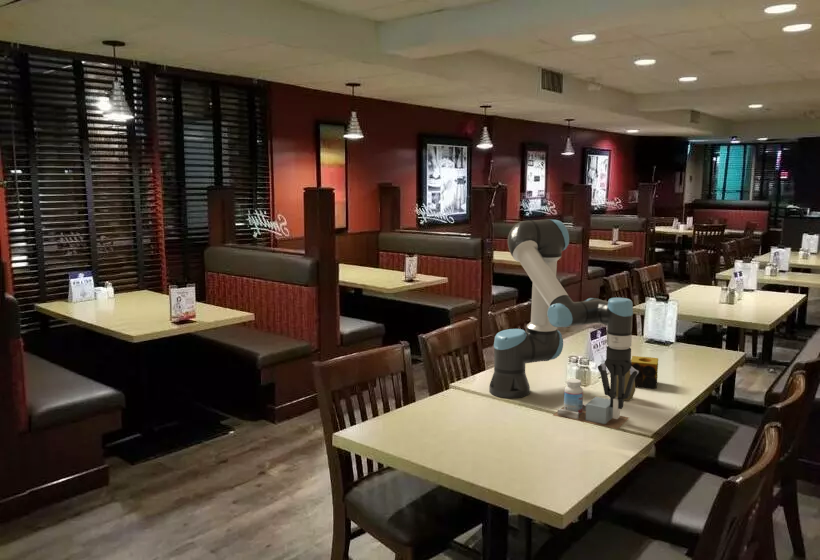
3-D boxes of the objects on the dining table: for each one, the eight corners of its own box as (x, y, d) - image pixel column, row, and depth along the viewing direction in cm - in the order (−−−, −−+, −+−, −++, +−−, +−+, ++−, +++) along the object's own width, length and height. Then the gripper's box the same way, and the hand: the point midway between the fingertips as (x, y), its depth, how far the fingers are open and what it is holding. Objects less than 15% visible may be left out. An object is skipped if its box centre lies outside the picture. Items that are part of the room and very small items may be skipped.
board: (552, 419, 218) (552, 407, 217) (565, 409, 227) (566, 398, 227) (617, 433, 205) (618, 421, 204) (629, 421, 215) (629, 410, 214)
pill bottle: (582, 416, 216) (583, 383, 214) (564, 415, 217) (564, 382, 215) (581, 410, 222) (582, 378, 220) (563, 409, 223) (564, 377, 221)
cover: (585, 420, 212) (586, 404, 211) (595, 412, 219) (595, 396, 219) (605, 424, 208) (605, 408, 208) (614, 415, 216) (615, 400, 215)
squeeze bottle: (636, 396, 239) (638, 349, 237) (633, 403, 232) (635, 354, 229) (613, 393, 243) (615, 347, 240) (610, 400, 235) (612, 352, 233)
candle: (628, 386, 251) (629, 361, 249) (630, 379, 260) (631, 355, 259) (656, 389, 247) (657, 364, 246) (657, 382, 256) (658, 357, 255)
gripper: (594, 346, 208) (592, 416, 211) (636, 352, 200) (633, 425, 204) (602, 341, 214) (600, 410, 217) (643, 346, 206) (640, 418, 210)
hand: (616, 417), depth 211 cm, fingers closed
